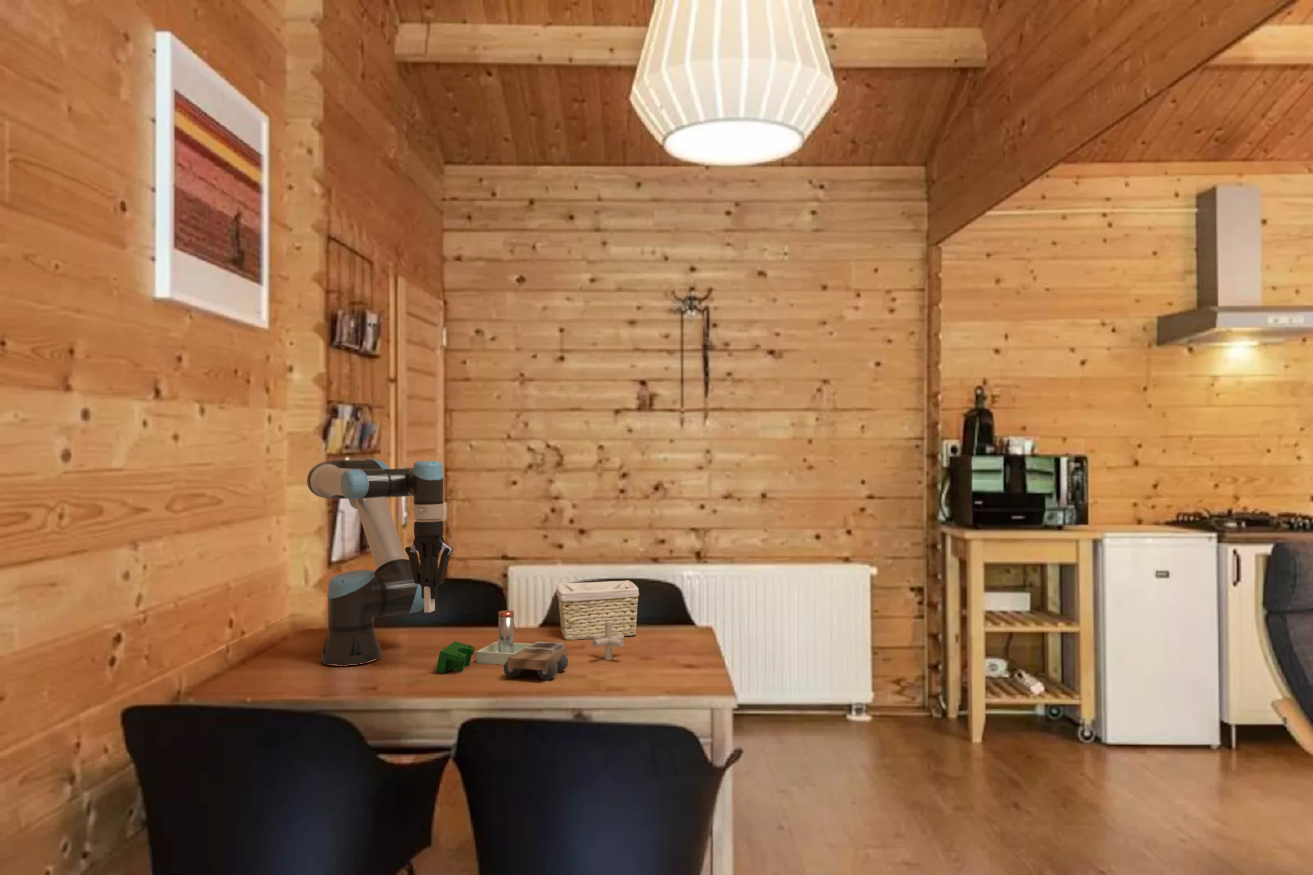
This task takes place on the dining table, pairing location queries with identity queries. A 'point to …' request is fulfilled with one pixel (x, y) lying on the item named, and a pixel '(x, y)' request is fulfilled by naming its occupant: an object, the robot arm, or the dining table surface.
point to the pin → (506, 631)
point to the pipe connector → (608, 640)
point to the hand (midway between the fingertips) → (429, 611)
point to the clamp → (454, 657)
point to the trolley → (538, 660)
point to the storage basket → (597, 608)
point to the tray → (496, 653)
